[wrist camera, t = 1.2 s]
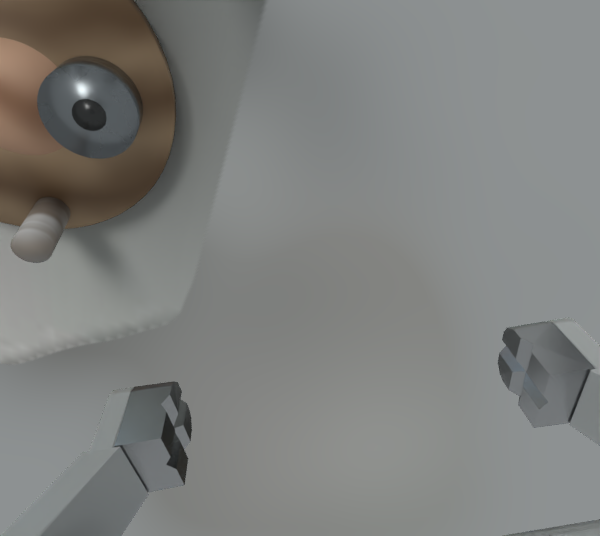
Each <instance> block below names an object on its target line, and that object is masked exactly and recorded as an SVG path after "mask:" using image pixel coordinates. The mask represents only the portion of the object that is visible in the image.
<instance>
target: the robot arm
mask: <svg viewBox="0 0 600 536" xmlns="http://www.w3.org/2000/svg"><path fill="white" fill-rule="evenodd" d="M502 340H503V342H504V343H505V344H506V347H505V348H504V349H503V350H502V351H501V352H500V353H499V359H498V365H499V371H500V375H501V377H502V380H503V382H504V383H505V385H506V386H507V388H508V389H509V390H510V391H512V392H513V393H515V394H517V395H519V396H520V397H519V404H518V405H519V406H520V408H521V409H522V411H523V412H524V414H525V415H526V417H527V418H528V420H529V421H530V423H531V424H532V426H533V427H534V428H536V427H543V426H551V425H558V424H565V423H570V426H572V427H573V428H575V429H576V430H578V431H579V432H580V433H582V434H583V435H585V436H586V437H588V438H589V439H591V440H592V441H594V442H595V443H597V444H598V445H599V446H600V345H599V344H598V343H597V342H596V341H594V339H593V338H591V336H590V335H589V334H588V333H587V332H585V330H584V329H583V328H582V327H581V326H580V325H579V324H578V323H577V322H576V321H574V320H572V319H570V318H563V319H557V320H551V321H547V322H539V323H533V324H527V325H521V326H516V327H510V328H507V329H506V330H505V331H504V334H503V339H502ZM181 393H182V391H181V388H180V387H179V384H178V382H167V383H160V384H152V385H145V386H138V387H133V388H125V389H118V390H113V391H112V393H111V394H110V395H109V396H108V400H107V402H106V405H105V408H104V411H103V413H102V416H101V419H100V422H99V425H98V427H97V430H96V433H95V436H94V439H93V442H92V445H91V447H90V450H89V451H88V452H83V453H82V454H81V455H80V456H79V457H78V458H77V459H76V460H75V461H74V462H73V463H72V464H71V465H70V466H69V467H68V468H67V469H66V470H65V471H64V472H63V473H62V474H61V475H60V476H59V477H58V478H57V479H56V480H55V481H54V482H53V483H52V484H51V485H50V486H49V487H48V488H47V489H46V490H45V491H44V492H43V493H42V494H41V495H40V496H39V497H38V498H37V499H36V500H35V501H34V502H33V503H32V504H31V505H30V506H29V507H28V508H27V509H26V510H25V511H24V512H23V513H22V514H21V515H20V516H19V517H18V518H17V519H16V520H15V521H14V522H13V523H12V524H11V525H10V526H9V527H8V528H7V529H6V530H5V531H4V532H3V533H2V534H1V535H0V536H121V535H122V534H123V533H124V531H125V530H126V528H127V526H128V525H129V523H130V522H131V521H132V519H133V518H134V516H135V514H136V513H137V511H138V510H139V508H140V507H141V505H142V504H143V502H144V501H145V499H146V498H147V496H148V495H149V494H148V492H153V491H158V490H162V489H168V488H173V487H178V486H183V485H185V478H186V471H187V464H188V457H187V455H186V453H185V451H184V449H185V448H186V446H187V445H188V444H189V443H190V441H191V432H192V429H191V428H192V427H191V426H192V425H191V415H190V411H189V408H188V405H187V403H186V402H184V401H182V400H181ZM504 536H600V519H599V520H593V521H587V522H581V523H575V524H570V525H564V526H558V527H552V528H546V529H540V530H534V531H528V532H522V533H516V534H510V535H504Z"/></svg>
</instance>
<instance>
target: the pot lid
mask: <svg viewBox="0 0 600 536" xmlns="http://www.w3.org/2000/svg"><path fill="white" fill-rule="evenodd" d="M37 107H38V112H39V115H40V118H41V121H42V123H43V124H44V126H45V128H46V129H47V131H48V132H49V133H50V135H51V136H52V137H53V138H54V139H55V140H56V141H57V142H58V143H59V144H61V145H62V146H63V147H65V148H66V149H68V150H70V151H72V152H73V153H76V154H78V155H81V156H84V157H88V158H95V159H104V158H110V157H114V156H117V155H119V154H121V153H122V152H124V151H125V150H127V149H128V148H129V147H130V146H131V144H132V143H133V141H134V139H135V137H136V135H137V132H138V129H139V126H140V124H141V121H142V116H143V103H142V99H141V96H140V93H139V91H138V89H137V87H136V85H135V84H134V82H133V81H132V79H131V78H130V77H129V76H128V75H127V74H126V73H125V72H124V71H123V70H122V69H120V68H119V67H118V66H116V65H115V64H113V63H111V62H109V61H107V60H105V59H102V58H98V57H94V56H78V57H73V58H70V59H68V60H66V61H64V62H63V63H62V64H60V65H59V66H58V67H57V68H56V69H54V70H53V71H52V72H51V73H50V74H49V75H48V76H47V77H46V78H45V79H44V80H43V82H42V84H41V86H40V88H39V91H38V95H37Z"/></svg>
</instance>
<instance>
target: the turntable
mask: <svg viewBox="0 0 600 536" xmlns="http://www.w3.org/2000/svg"><path fill="white" fill-rule="evenodd" d="M78 56H94V57H98V58H102V59H105V60H107V61H109V62H111V63H113V64H115V65H116V66H118V67H119V68H120V69H122V70H123V71H124V72H125V73H126V74H127V75H128V76H129V77H130V78H131V79H132V81H133V82H134V84H135V85H136V87H137V89H138V91H139V93H140V96H141V99H142V103H143V116H142V121H141V124H140V126H139V129H138V132H137V135H136V137H135V139H134V141H133V143H132V144H131V146H130V147H129V148H128V149H127V150H125V151H124V152H122V153H121V154H119V155H117V156H114V157H110V158H104V159H95V158H88V157H84V156H81V155H78V154H76V153H73V152H72V151H70V150H68V149H66V148H65V147H63V146H62V145H61V144H59V143H58V142H57V141H56V140H55V139H54V138H53V137H52V136H51V135H50V133H49V132H48V131H47V129H46V128H45V126H44V124H43V123H42V121H41V118H40V115H39V112H38V107H37V95H38V91H39V88H40V86H41V84H42V82H43V80H44V79H45V78H46V77H47V76H48V75H49V74H50V73H51V72H52V71H53V70H54V69H56V68H57V67H58V66H59V65H60V64H62V63H63V62H64V61H66V60H68V59H70V58H73V57H78ZM175 121H176V102H175V93H174V87H173V81H172V77H171V73H170V70H169V66H168V63H167V60H166V57H165V55H164V52H163V50H162V48H161V45H160V43H159V41H158V38H157V37H156V35H155V33H154V31H153V29H152V28H151V26H150V24H149V22H148V21H147V19H146V17H145V16H144V14H143V13H142V12H141V10H140V9H139V7H138V6H137V5H136V3H135V2H134V0H0V222H3V223H8V224H12V225H17V226H20V228H19V229H18V231H17V232H16V234H15V236H14V237H13V239H12V240H11V249H12V251H13V252H14V253H15V255H17V256H18V257H19V258H21V259H23V260H25V261H28V262H33V263H40V262H44V261H46V260H48V259H49V258H50V257H51V255H52V253H53V251H54V249H55V247H56V245H57V243H58V241H59V239H60V237H61V235H62V233H63V230H64V229H69V228H78V227H83V226H89V225H93V224H96V223H99V222H103V221H106V220H108V219H111V218H113V217H115V216H117V215H119V214H121V213H123V212H124V211H126V210H128V209H129V208H131V207H132V206H134V205H135V204H136V203H137V202H138V201H140V200H141V199H142V198H143V197H144V196H145V195H146V194H147V193H148V192H149V191H150V189H151V188H152V187H153V186H154V185H155V183H156V182H157V180H158V178H159V177H160V175H161V173H162V172H163V170H164V167H165V165H166V162H167V160H168V158H169V154H170V150H171V146H172V142H173V137H174V131H175Z"/></svg>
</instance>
